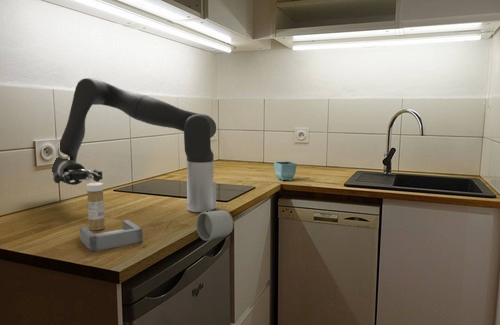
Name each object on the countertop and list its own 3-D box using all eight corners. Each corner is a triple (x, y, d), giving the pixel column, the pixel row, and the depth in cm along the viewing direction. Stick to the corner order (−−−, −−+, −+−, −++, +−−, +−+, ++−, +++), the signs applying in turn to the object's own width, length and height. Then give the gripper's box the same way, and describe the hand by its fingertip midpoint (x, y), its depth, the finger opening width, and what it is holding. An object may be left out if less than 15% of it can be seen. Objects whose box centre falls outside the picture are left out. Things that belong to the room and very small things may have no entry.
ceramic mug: (235, 237, 107) (235, 210, 106) (212, 243, 102) (212, 215, 101) (212, 229, 115) (211, 203, 114) (189, 234, 109) (188, 208, 108)
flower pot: (296, 181, 193) (297, 163, 192) (280, 182, 190) (281, 164, 189) (288, 178, 201) (289, 161, 200) (273, 179, 198) (273, 161, 197)
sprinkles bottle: (100, 225, 117) (98, 181, 115) (107, 228, 114) (106, 183, 112) (85, 228, 113) (83, 183, 112) (92, 232, 110) (90, 185, 108)
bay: (128, 231, 111) (128, 219, 111) (142, 241, 103) (142, 228, 102) (80, 240, 103) (79, 227, 103) (91, 251, 95) (90, 238, 94)
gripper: (47, 162, 128) (58, 169, 116) (92, 160, 137) (106, 166, 124) (48, 184, 129) (59, 193, 117) (93, 180, 138) (107, 189, 125)
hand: (83, 179), depth 121 cm, fingers open, 8 cm apart
